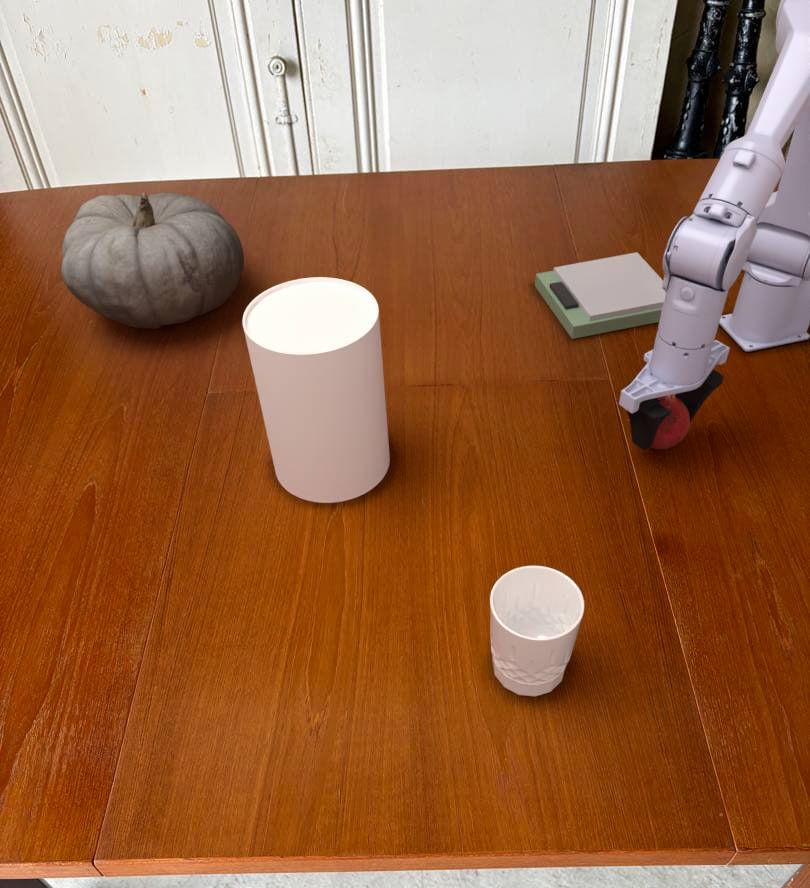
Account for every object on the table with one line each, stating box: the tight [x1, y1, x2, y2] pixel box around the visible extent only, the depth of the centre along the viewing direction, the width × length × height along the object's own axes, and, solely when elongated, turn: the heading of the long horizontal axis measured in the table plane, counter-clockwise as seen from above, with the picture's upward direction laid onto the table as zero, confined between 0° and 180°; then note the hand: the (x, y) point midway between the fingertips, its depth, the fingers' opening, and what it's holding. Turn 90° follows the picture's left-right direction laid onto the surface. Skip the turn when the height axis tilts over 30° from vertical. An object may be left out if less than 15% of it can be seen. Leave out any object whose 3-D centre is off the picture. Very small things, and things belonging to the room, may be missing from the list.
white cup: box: [489, 565, 585, 697], centre depth 72 cm, size 8×8×10 cm
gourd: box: [60, 192, 245, 330], centre depth 114 cm, size 25×25×17 cm
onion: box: [650, 394, 691, 450], centre depth 92 cm, size 6×6×8 cm
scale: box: [534, 251, 666, 340], centre depth 115 cm, size 16×14×3 cm
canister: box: [242, 276, 391, 504], centre depth 88 cm, size 14×14×20 cm
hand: (660, 433), depth 94 cm, fingers closed on onion, 6 cm apart
